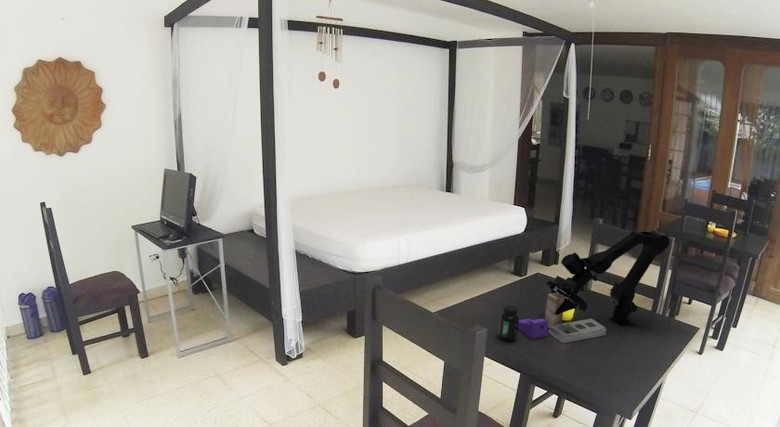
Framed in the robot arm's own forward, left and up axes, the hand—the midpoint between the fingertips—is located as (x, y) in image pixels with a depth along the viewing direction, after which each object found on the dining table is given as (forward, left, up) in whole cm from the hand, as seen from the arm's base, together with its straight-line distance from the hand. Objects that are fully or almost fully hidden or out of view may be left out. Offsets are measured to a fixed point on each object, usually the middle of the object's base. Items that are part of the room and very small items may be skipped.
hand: (551, 311), depth 190 cm
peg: (-1, 0, -7) cm, 7 cm away
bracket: (+9, 0, -7) cm, 12 cm away
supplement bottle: (+21, +2, -7) cm, 22 cm away
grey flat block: (-6, +8, -7) cm, 12 cm away
